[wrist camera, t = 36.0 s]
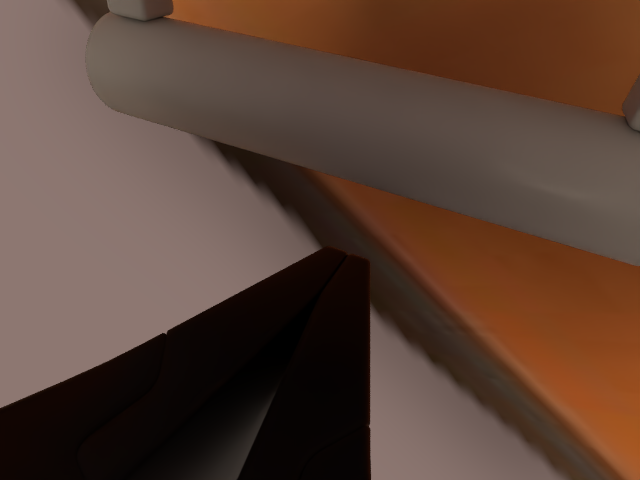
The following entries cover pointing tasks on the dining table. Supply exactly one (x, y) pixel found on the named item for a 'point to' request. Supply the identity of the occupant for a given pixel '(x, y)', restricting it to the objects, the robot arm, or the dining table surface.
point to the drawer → (382, 126)
